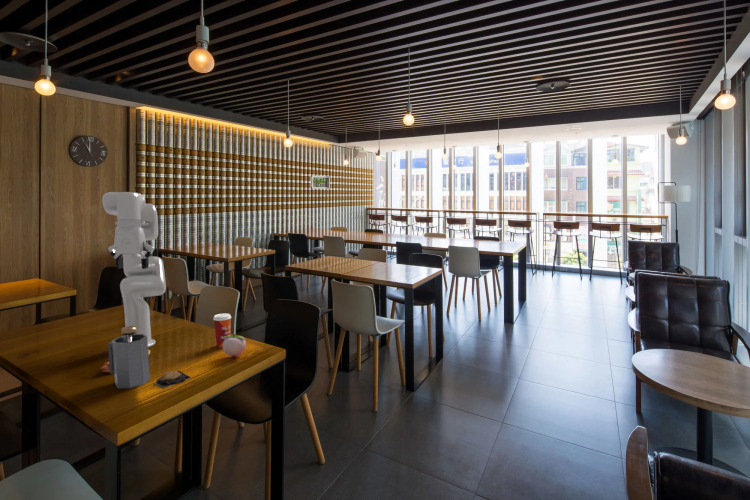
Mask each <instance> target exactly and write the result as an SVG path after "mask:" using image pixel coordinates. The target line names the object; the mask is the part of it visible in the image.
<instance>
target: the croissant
mask: <svg viewBox="0 0 750 500" xmlns="http://www.w3.org/2000/svg"><path fill="white" fill-rule="evenodd" d="M149 355H151V350H150V349H148V356H149ZM99 370H100V372H103V373H110V366H109V359H107V361H106V362H105V363H104V364H103V365H102V366H101V367H100V368H99Z"/></svg>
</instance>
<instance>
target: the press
mask: <svg viewBox="0 0 750 500" xmlns="http://www.w3.org/2000/svg"><path fill="white" fill-rule="evenodd" d="M148 350H149V347H148V345H147V336H146V335H144V334H132V342H128V336H127V335H121V336H118V337H116V338H114V339H112V340H111V341H110V342H108V343H107V351H108V360H109V366H110V372H109V374H111V375H114V384H115V387H117V389H132V388H135V387H139V386H143V385H145V384H146V383H147V382H148V381H150V379H151V377H150V361H149V355H148Z"/></svg>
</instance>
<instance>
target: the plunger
mask: <svg viewBox="0 0 750 500" xmlns="http://www.w3.org/2000/svg"><path fill="white" fill-rule="evenodd" d="M135 333H137V330H136V326H127V327H126V326H124V327H122V328H121V336H125V335H127V336H128V342H132V334H135Z"/></svg>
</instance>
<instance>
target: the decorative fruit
mask: <svg viewBox="0 0 750 500" xmlns="http://www.w3.org/2000/svg"><path fill="white" fill-rule="evenodd" d="M226 337H227V338H226ZM224 338H226V339H225V340H224V342H223V348H222V350H223V351H224V353H225V354H226V355H227V356H229V357H234V358H235V357H238V356H239V355H241V354H242V353H243V352H244V351H245V350H246V348H247V341H246V338H245V337H243V336H242V335H235V333H233V334H232V335H231V334H230V335H229V336H225V337H224ZM224 338H223V339H224Z"/></svg>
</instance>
